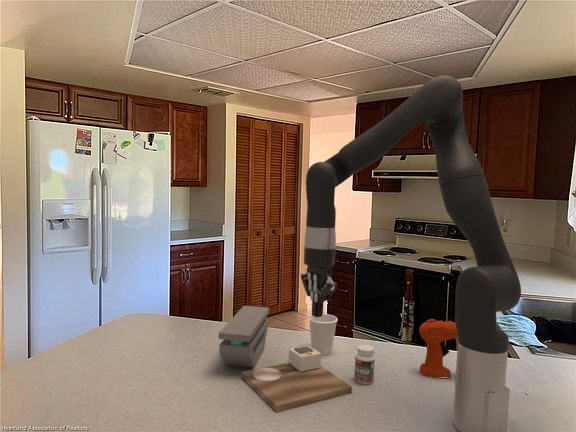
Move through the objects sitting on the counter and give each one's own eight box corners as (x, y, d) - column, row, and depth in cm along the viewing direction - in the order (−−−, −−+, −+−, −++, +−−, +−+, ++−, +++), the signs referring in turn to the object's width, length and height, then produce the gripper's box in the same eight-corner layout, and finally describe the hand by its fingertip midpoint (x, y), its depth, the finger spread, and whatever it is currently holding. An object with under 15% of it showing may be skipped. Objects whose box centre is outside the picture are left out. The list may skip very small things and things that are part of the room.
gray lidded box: (248, 379, 107) (249, 335, 106) (217, 375, 108) (218, 332, 107) (267, 343, 131) (269, 307, 131) (242, 340, 132) (243, 305, 132)
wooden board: (351, 392, 102) (351, 385, 101) (276, 412, 92) (276, 404, 91) (309, 363, 117) (309, 357, 117) (241, 377, 107) (241, 371, 107)
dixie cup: (336, 347, 130) (337, 314, 129) (336, 358, 122) (337, 323, 121) (308, 345, 131) (309, 312, 130) (306, 355, 123) (307, 321, 122)
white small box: (320, 367, 111) (321, 352, 111) (300, 371, 108) (301, 355, 108) (307, 358, 116) (308, 344, 116) (288, 362, 113) (289, 347, 113)
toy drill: (499, 379, 109) (495, 320, 108) (421, 379, 112) (417, 322, 111) (493, 370, 114) (489, 314, 113) (418, 371, 117) (414, 317, 116)
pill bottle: (351, 381, 108) (353, 348, 107) (357, 374, 112) (359, 342, 111) (370, 386, 105) (372, 352, 105) (375, 379, 110) (377, 346, 109)
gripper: (349, 248, 101) (346, 321, 102) (317, 241, 113) (314, 307, 114) (323, 250, 98) (319, 326, 99) (292, 242, 109) (290, 310, 110)
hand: (317, 316), depth 106 cm, fingers closed
